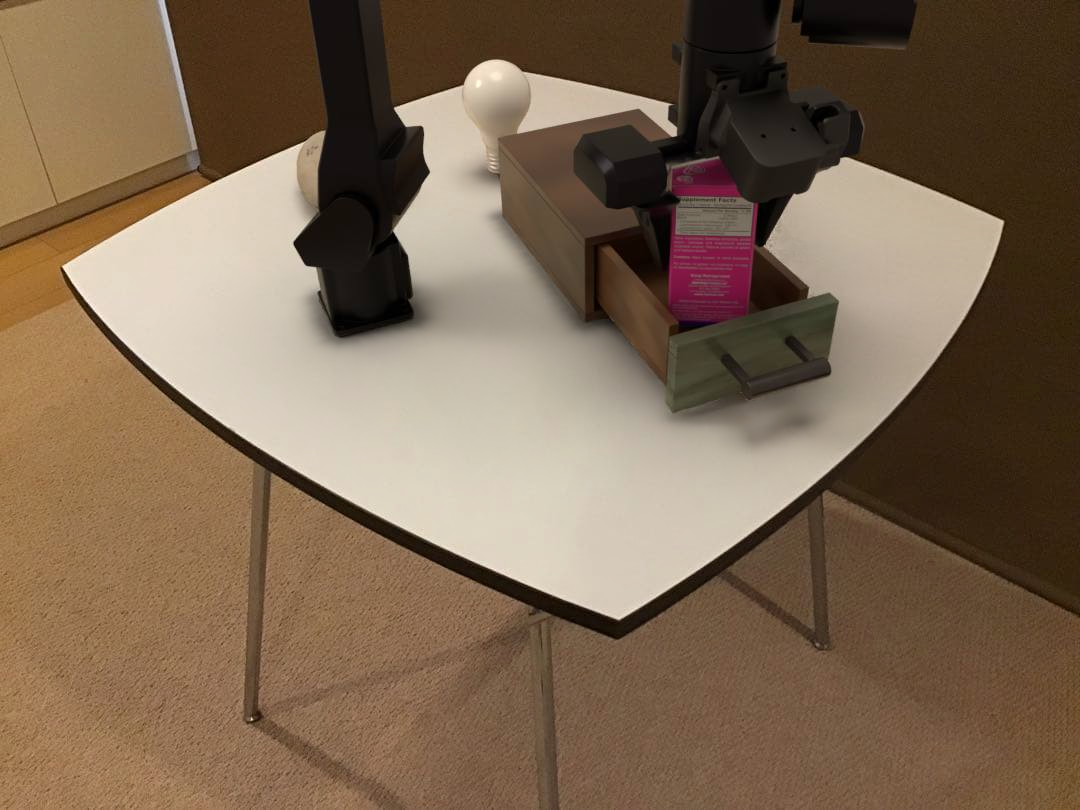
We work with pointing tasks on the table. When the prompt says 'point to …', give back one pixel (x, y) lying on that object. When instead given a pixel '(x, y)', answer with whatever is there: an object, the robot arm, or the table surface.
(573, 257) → the cabinet
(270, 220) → the table surface
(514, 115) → the lightbulb
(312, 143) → the stone
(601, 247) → the drawer
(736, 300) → the supplement box
